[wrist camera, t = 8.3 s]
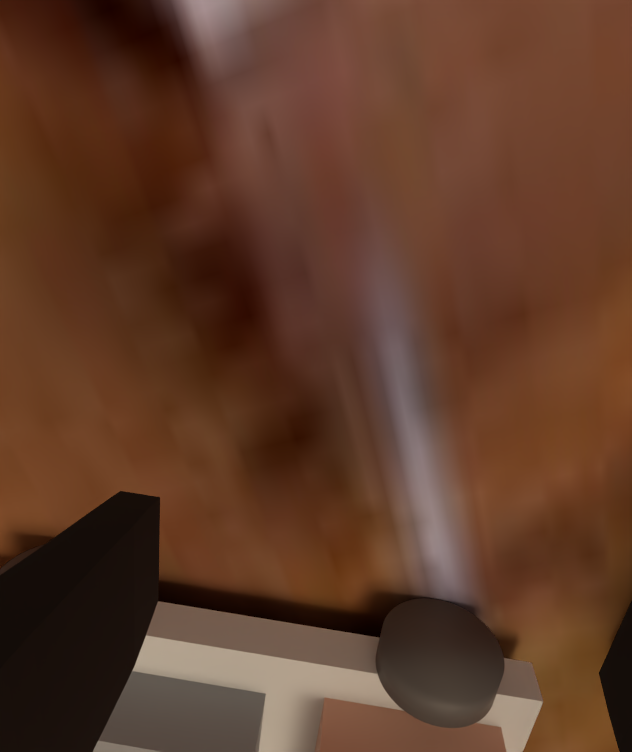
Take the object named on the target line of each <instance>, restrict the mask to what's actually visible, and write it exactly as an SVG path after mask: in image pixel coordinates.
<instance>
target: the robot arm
mask: <svg viewBox="0 0 632 752" xmlns="http://www.w3.org/2000/svg"><path fill="white" fill-rule="evenodd" d="M159 523H160V497H155V496H148V495H142V494H136V493H129V492H123V491H120V492H118V493H117V494H116V495H114V496H113V497H111V498H110V499H108V500H107V501H105V502H104V503H102V504H101V505H100V506H98V507H97V508H95V509H94V510H92V511H91V512H90V513H88V514H87V515H85V516H84V517H83V518H81V519H80V520H78V521H77V522H76V523H74V524H73V525H71V526H70V527H69V528H67V529H66V530H64V531H63V532H62V533H60V534H59V535H57V536H56V537H55V538H53V539H52V540H50V541H49V542H47V543H46V544H45V545H43V546H42V547H40V548H39V549H37V550H36V551H34V552H33V553H32V554H30V555H29V556H27V557H26V558H24V559H23V560H21V561H20V562H18V563H17V564H15V565H14V566H13V567H11V568H10V569H8V570H7V571H5V572H4V573H2V574H1V575H0V752H93V750H94V748H95V746H96V744H97V742H98V740H99V738H100V736H101V734H102V732H103V730H104V728H105V726H106V724H107V722H108V720H109V718H110V716H111V714H112V712H113V710H114V708H115V706H116V703H117V701H118V699H119V697H120V695H121V693H122V691H123V689H124V687H125V685H126V683H127V681H128V679H129V677H130V675H131V673H132V670H133V668H134V666H135V664H136V661H137V658H138V656H139V653H140V650H141V647H142V645H143V642H144V639H145V637H146V634H147V631H148V628H149V625H150V623H151V620H152V617H153V614H154V611H155V608H156V606H157V603H158V585H159ZM599 675H600V679H601V683H602V687H603V692H604V696H605V700H606V704H607V708H608V712H609V716H610V720H611V723H612V727H613V730H614V734H615V738H616V741H617V745H618V748H619V751H620V752H632V601H631V603H630V606H629V608H628V610H627V612H626V614H625V617H624V619H623V621H622V623H621V625H620V628H619V630H618V632H617V634H616V637H615V639H614V641H613V643H612V645H611V648H610V650H609V652H608V654H607V656H606V659H605V661H604V663H603V665H602V667H601V670H600V672H599Z"/></svg>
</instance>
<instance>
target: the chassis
mask: <svg viewBox="0 0 632 752" xmlns="http://www.w3.org/2000/svg"><path fill="white" fill-rule="evenodd" d="M44 545H45V544H44ZM42 546H43V545H41V546H38V547H35V548H32V549H29V550H27V551H25V552H23V553H21V554H19V555H18V556H16V557H14V558H13V559H11V560H10V561H9V562H7V563H6V564H5V565H4V566H3V567H2V568H1V569H0V575H1V574H2V573H4V572H5V571H7V570H8V569H10V568H11V567H13V566H14V565H15V564H17V563H18V562H20V561H21V560H23V559H24V558H26V557H27V556H29V555H30V554H32V553H33V552H34V551H36V550H37V549H39V548H40V547H42ZM542 704H543V699H542V696H541V692H540V689H539V685H538V682H537V679H536V675H535V672H534V669H533V665H532V663H531V662H525V661H519V660H513V659H507V658H504V656H503V652H502V649H501V647H500V645H499V643H498V641H497V639H496V637H495V636H494V634H493V633H492V632H491V631H490V629H489V628H488V627H487V626H486V625H485V624H484V623H483V622H482V621H481V620H480V619H478V618H477V617H476V616H474V615H473V614H472V613H470V612H468V611H467V610H465V609H463V608H461V607H459V606H457V605H454V604H452V603H449V602H446V601H442V600H437V599H429V598H420V599H413V600H408V601H406V602H403V603H401V604H399V605H397V606H396V607H394V608H393V609H392V610H391V611H390V612H389V613H388V615H387V616H386V618H385V620H384V622H383V626H382V630H381V635H380V638H379V637H373V636H367V635H361V634H354V633H348V632H342V631H336V630H330V629H324V628H318V627H312V626H306V625H300V624H294V623H288V622H281V621H275V620H269V619H263V618H257V617H251V616H245V615H239V614H233V613H227V612H221V611H215V610H208V609H202V608H196V607H190V606H184V605H178V604H172V603H166V602H160V601H158V603H157V606H156V608H155V611H154V614H153V617H152V620H151V623H150V625H149V628H148V631H147V634H146V637H145V639H144V642H143V645H142V647H141V650H140V653H139V656H138V658H137V661H136V664H135V666H134V668H133V670H132V673H131V675H130V677H129V679H128V681H127V683H126V685H125V687H124V689H123V691H122V693H121V695H120V697H119V699H118V701H117V703H116V706H115V708H114V710H113V712H112V714H111V716H110V718H109V720H108V722H107V724H106V726H105V728H104V730H103V732H102V734H101V736H100V738H99V740H98V742H97V744H96V746H95V748H94V750H93V752H523V750H524V748H525V745H526V743H527V740H528V738H529V735H530V733H531V731H532V728H533V726H534V723H535V721H536V718H537V716H538V713H539V711H540V709H541V706H542Z"/></svg>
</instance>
